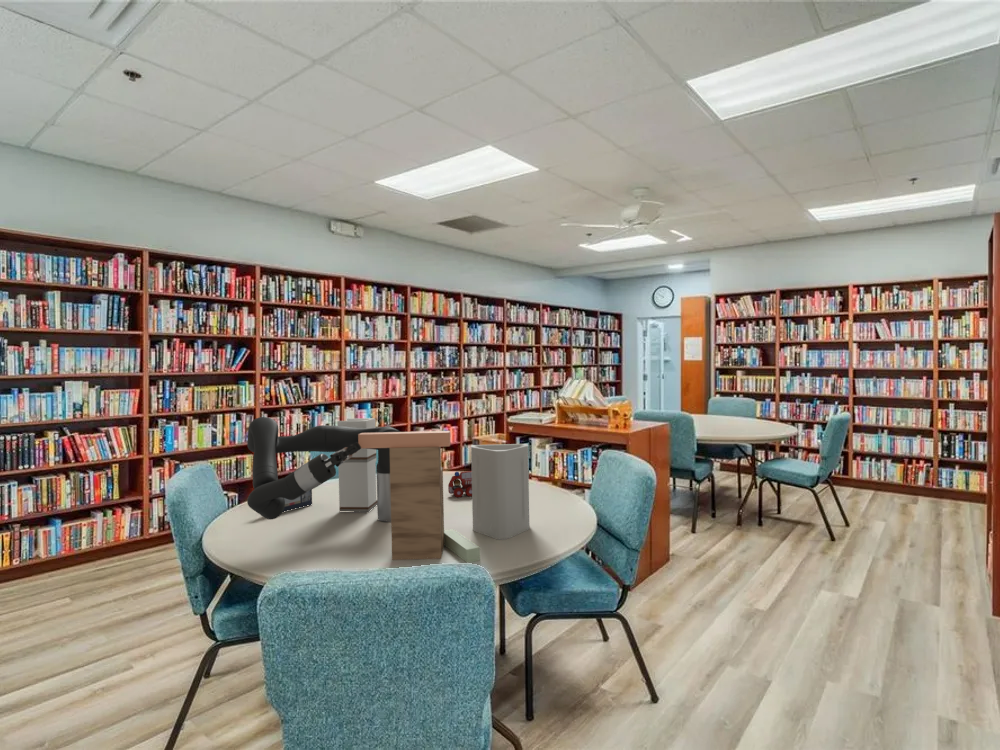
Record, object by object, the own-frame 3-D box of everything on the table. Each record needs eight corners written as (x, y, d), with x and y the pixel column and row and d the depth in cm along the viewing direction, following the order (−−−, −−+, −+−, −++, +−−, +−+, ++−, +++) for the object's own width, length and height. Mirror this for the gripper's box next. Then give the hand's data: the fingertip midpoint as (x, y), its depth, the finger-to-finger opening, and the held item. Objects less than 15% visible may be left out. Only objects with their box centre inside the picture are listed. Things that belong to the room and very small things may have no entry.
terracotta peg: (361, 446, 158) (361, 432, 158) (450, 444, 159) (450, 430, 159) (358, 448, 154) (358, 434, 154) (449, 446, 155) (449, 432, 155)
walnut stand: (398, 545, 166) (396, 442, 166) (444, 544, 166) (442, 441, 166) (392, 559, 154) (389, 448, 154) (441, 558, 154) (438, 447, 154)
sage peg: (441, 543, 169) (441, 530, 169) (453, 541, 170) (453, 528, 170) (467, 563, 151) (466, 549, 151) (479, 561, 153) (479, 547, 152)
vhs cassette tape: (270, 516, 204) (269, 489, 203) (266, 515, 205) (265, 488, 205) (313, 505, 218) (312, 481, 218) (308, 504, 220) (308, 480, 220)
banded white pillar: (377, 505, 216) (375, 418, 216) (368, 512, 206) (366, 420, 205) (349, 505, 217) (347, 418, 217) (339, 512, 207) (337, 421, 206)
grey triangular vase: (471, 540, 170) (470, 451, 170) (473, 526, 185) (471, 445, 185) (532, 538, 171) (530, 450, 170) (528, 524, 186) (527, 443, 185)
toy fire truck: (447, 494, 232) (446, 470, 232) (475, 492, 235) (474, 468, 235) (449, 498, 226) (449, 473, 225) (478, 496, 229) (478, 471, 228)
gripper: (329, 478, 163) (375, 450, 163) (314, 489, 149) (364, 458, 149) (316, 457, 163) (361, 429, 163) (299, 466, 148) (349, 435, 149)
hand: (362, 443), depth 156 cm, fingers open, 8 cm apart
